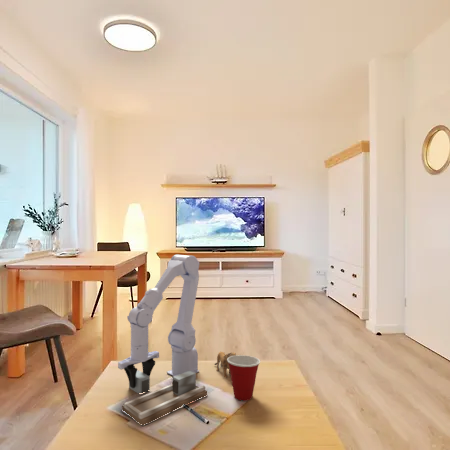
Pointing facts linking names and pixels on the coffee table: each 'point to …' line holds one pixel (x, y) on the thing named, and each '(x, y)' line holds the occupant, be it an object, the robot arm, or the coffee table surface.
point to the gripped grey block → (141, 382)
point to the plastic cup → (243, 375)
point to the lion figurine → (224, 361)
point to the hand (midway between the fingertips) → (139, 384)
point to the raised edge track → (165, 398)
